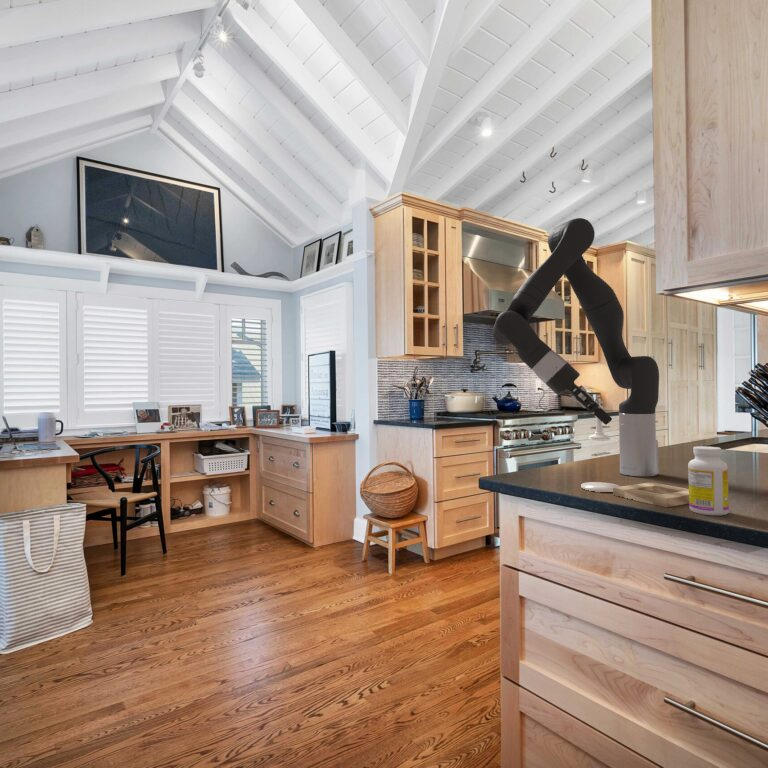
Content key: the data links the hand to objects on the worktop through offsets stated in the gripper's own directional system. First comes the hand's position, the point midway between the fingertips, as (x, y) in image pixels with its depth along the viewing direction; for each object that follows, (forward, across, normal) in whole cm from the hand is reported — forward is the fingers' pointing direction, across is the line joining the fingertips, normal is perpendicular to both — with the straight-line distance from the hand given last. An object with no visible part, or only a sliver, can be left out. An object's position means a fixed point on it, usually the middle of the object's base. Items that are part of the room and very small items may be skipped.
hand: (608, 421), depth 123 cm
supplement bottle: (+23, -18, 0) cm, 30 cm away
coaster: (+10, 0, +13) cm, 17 cm away
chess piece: (+2, 0, +5) cm, 5 cm away
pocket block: (+18, -7, +5) cm, 20 cm away
